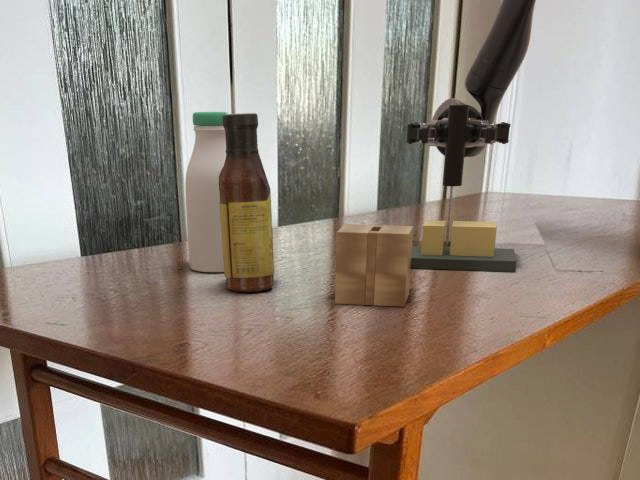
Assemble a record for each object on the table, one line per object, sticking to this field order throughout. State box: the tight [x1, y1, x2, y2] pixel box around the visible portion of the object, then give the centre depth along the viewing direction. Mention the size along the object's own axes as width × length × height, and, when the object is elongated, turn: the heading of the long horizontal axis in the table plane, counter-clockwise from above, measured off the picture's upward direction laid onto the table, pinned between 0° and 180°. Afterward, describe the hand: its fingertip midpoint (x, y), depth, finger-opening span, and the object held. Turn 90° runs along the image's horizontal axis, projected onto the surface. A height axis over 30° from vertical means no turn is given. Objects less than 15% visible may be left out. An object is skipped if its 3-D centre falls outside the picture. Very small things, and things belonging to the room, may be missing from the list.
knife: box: [442, 104, 470, 254], centre depth 104 cm, size 3×3×19 cm
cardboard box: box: [334, 224, 414, 308], centre depth 87 cm, size 8×6×8 cm
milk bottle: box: [184, 111, 228, 273], centre depth 102 cm, size 8×8×20 cm
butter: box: [411, 220, 517, 273], centre depth 107 cm, size 16×10×6 cm, turn 77°
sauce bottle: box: [219, 112, 275, 293], centre depth 90 cm, size 7×6×20 cm
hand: (456, 134), depth 102 cm, fingers open, 8 cm apart
